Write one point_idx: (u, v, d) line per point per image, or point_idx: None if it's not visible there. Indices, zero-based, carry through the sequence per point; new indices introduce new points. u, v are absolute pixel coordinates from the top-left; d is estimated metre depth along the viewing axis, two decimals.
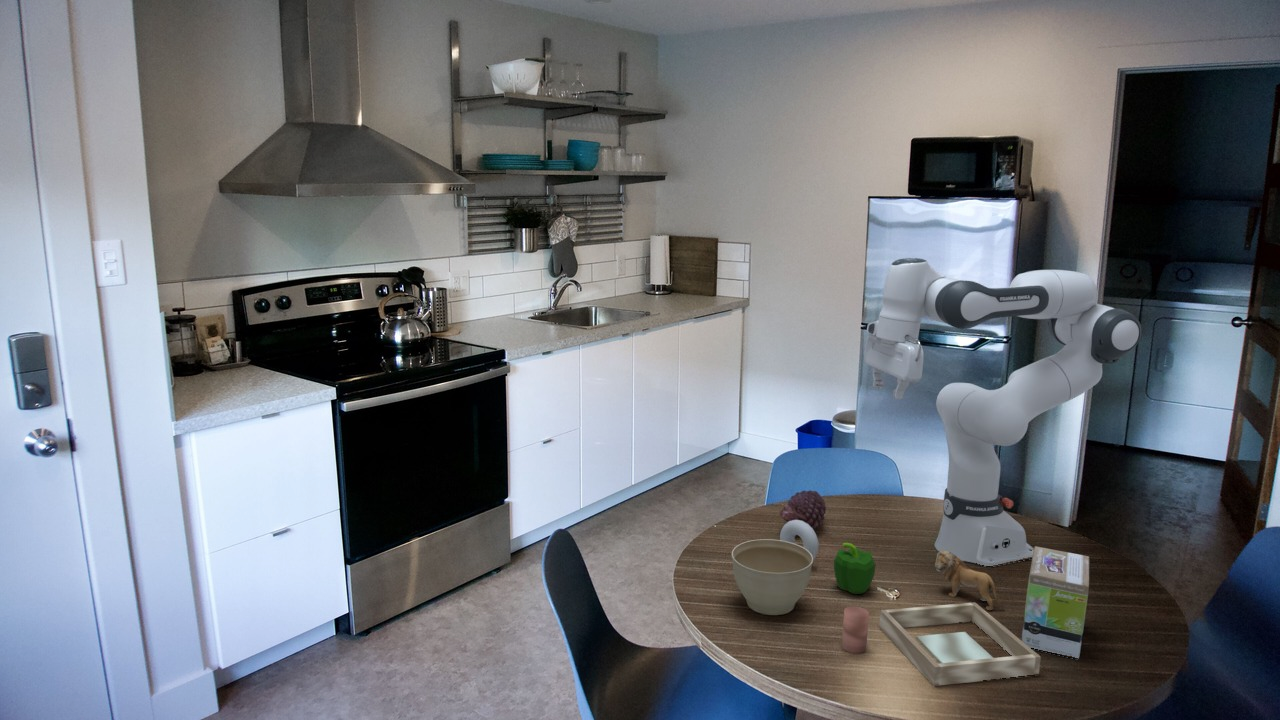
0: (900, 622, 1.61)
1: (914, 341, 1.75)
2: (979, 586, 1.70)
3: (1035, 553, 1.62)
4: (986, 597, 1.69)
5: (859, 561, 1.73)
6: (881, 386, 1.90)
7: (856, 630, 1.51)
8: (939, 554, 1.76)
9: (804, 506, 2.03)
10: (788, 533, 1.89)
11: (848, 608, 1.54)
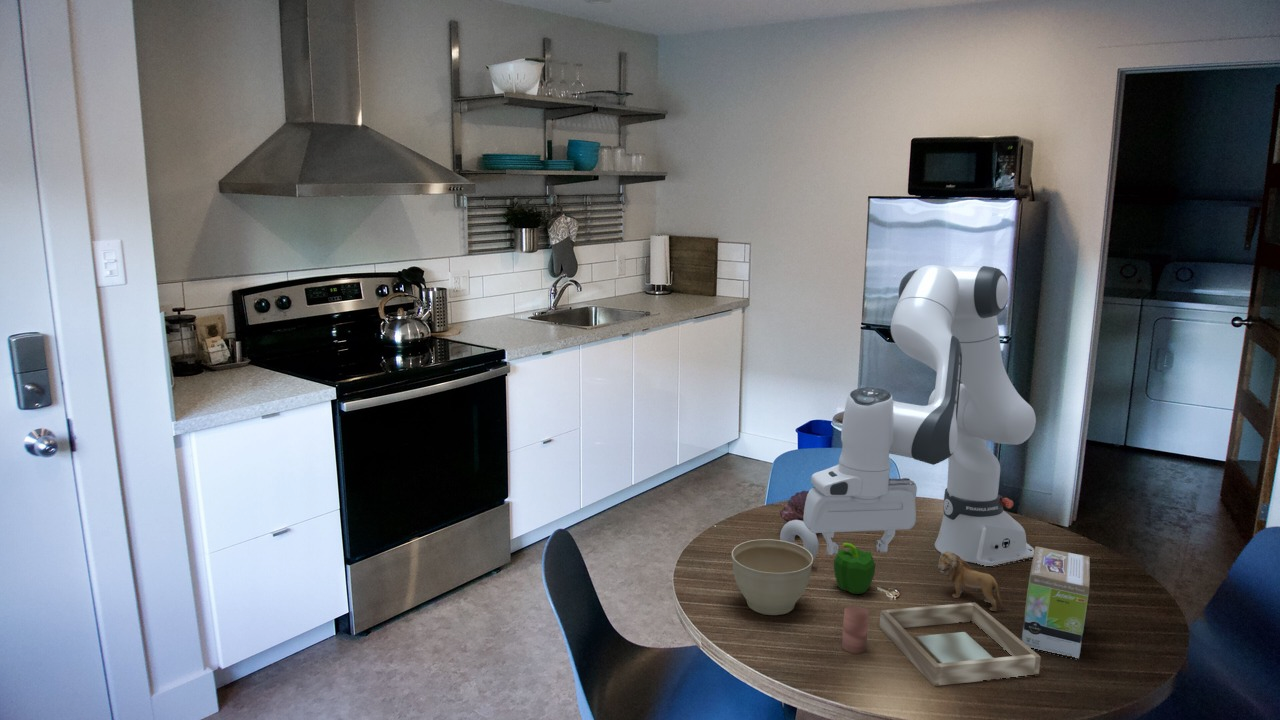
0: (900, 622, 1.61)
1: (908, 482, 1.50)
2: (983, 587, 1.69)
3: (1035, 553, 1.62)
4: (990, 598, 1.68)
5: (859, 561, 1.73)
6: None
7: (856, 630, 1.51)
8: (942, 555, 1.75)
9: (804, 506, 2.03)
10: (788, 533, 1.89)
11: (848, 608, 1.54)
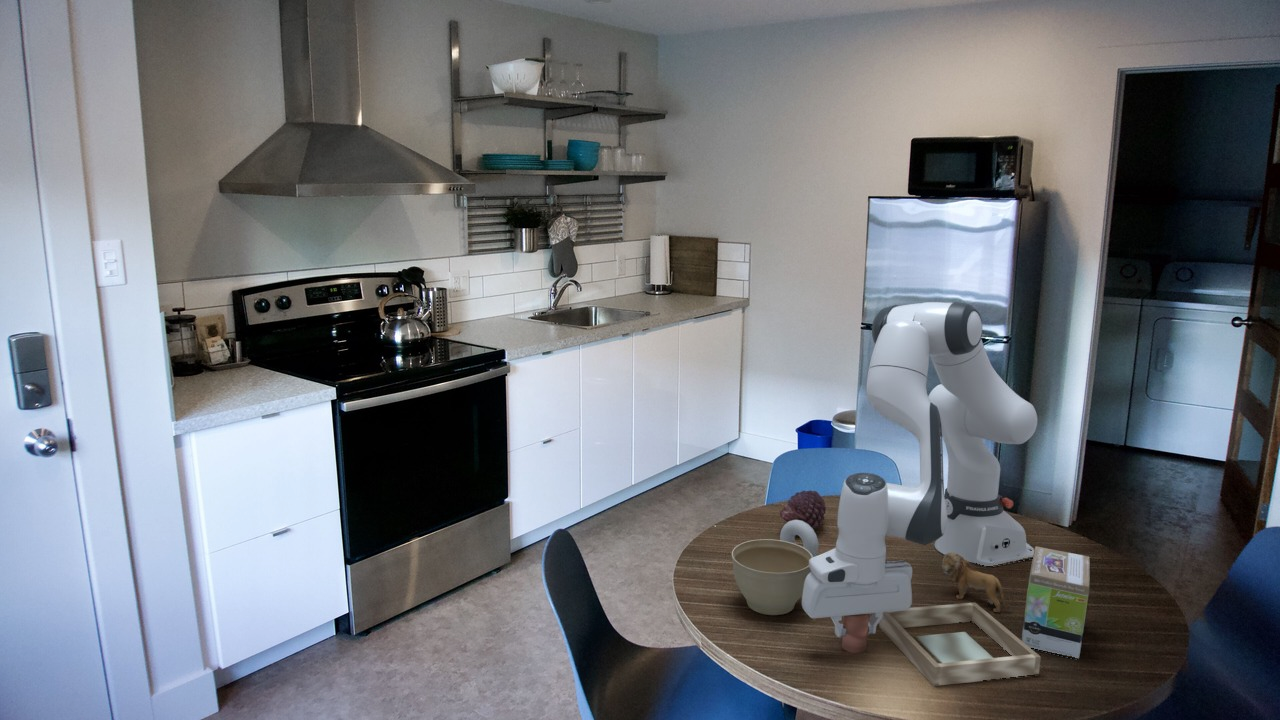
0: (900, 622, 1.61)
1: (904, 565, 1.53)
2: (986, 588, 1.69)
3: (1035, 553, 1.62)
4: (993, 599, 1.68)
5: None
6: None
7: (856, 630, 1.51)
8: (946, 556, 1.75)
9: (804, 506, 2.03)
10: (788, 533, 1.89)
11: None
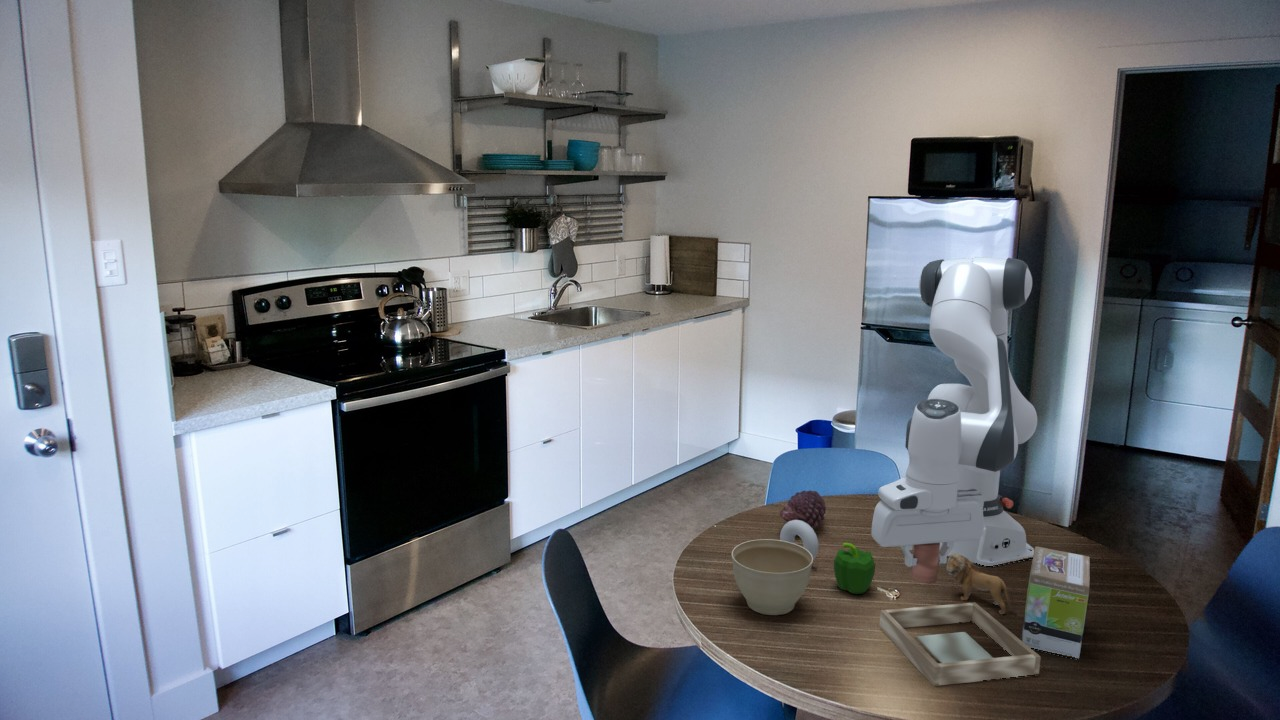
0: (900, 622, 1.61)
1: (975, 493, 1.50)
2: (991, 590, 1.68)
3: (1036, 553, 1.62)
4: (998, 601, 1.67)
5: (859, 561, 1.73)
6: None
7: (928, 559, 1.49)
8: (951, 557, 1.74)
9: (804, 506, 2.03)
10: (788, 533, 1.89)
11: None
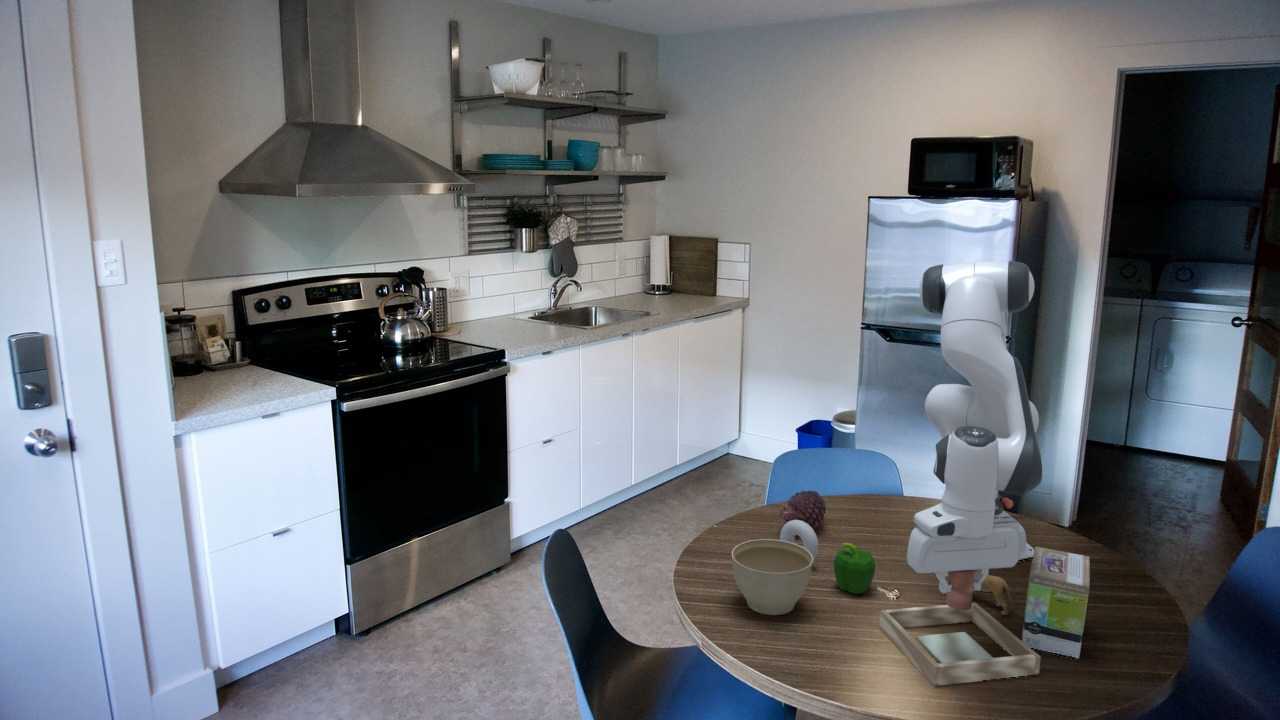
0: (900, 622, 1.61)
1: (1010, 520, 1.50)
2: (994, 590, 1.68)
3: (1035, 553, 1.62)
4: (1001, 602, 1.67)
5: (859, 561, 1.73)
6: None
7: (963, 586, 1.49)
8: None
9: (804, 506, 2.03)
10: (788, 533, 1.89)
11: None
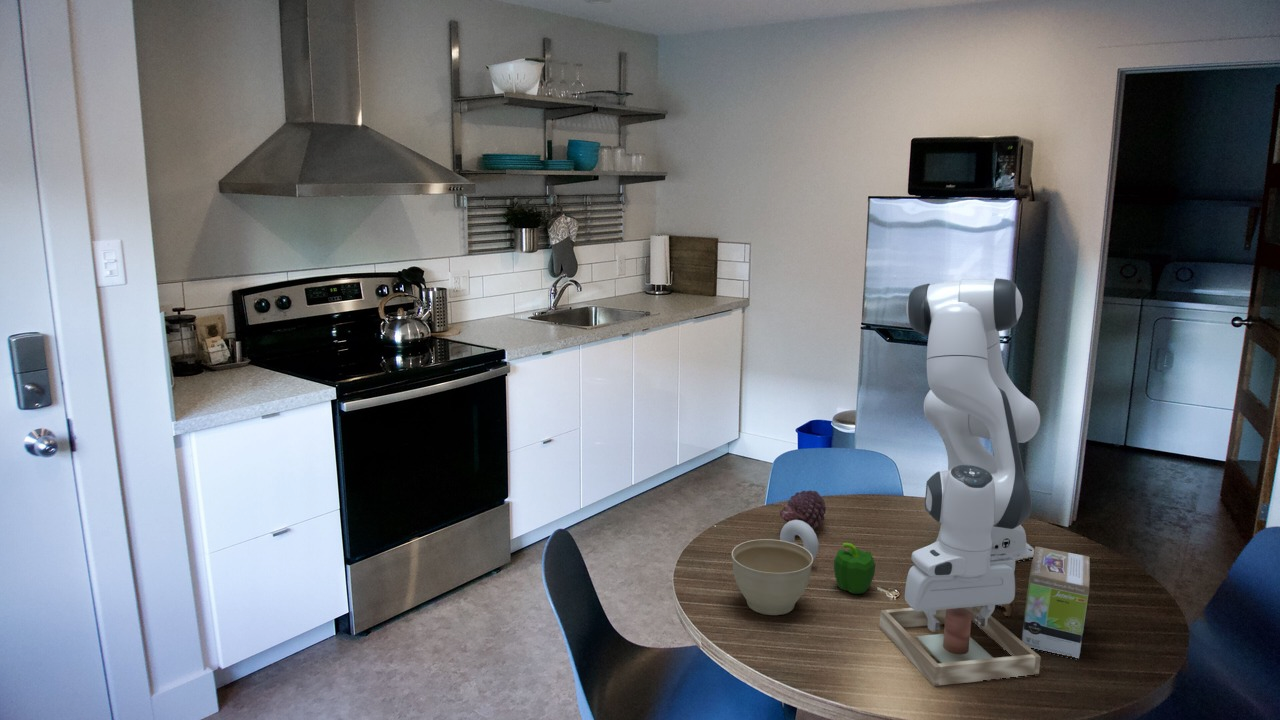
0: (900, 622, 1.61)
1: (1007, 558, 1.52)
2: None
3: (1035, 553, 1.62)
4: None
5: (859, 561, 1.73)
6: None
7: (960, 631, 1.51)
8: None
9: (804, 506, 2.03)
10: (788, 533, 1.89)
11: (950, 609, 1.54)
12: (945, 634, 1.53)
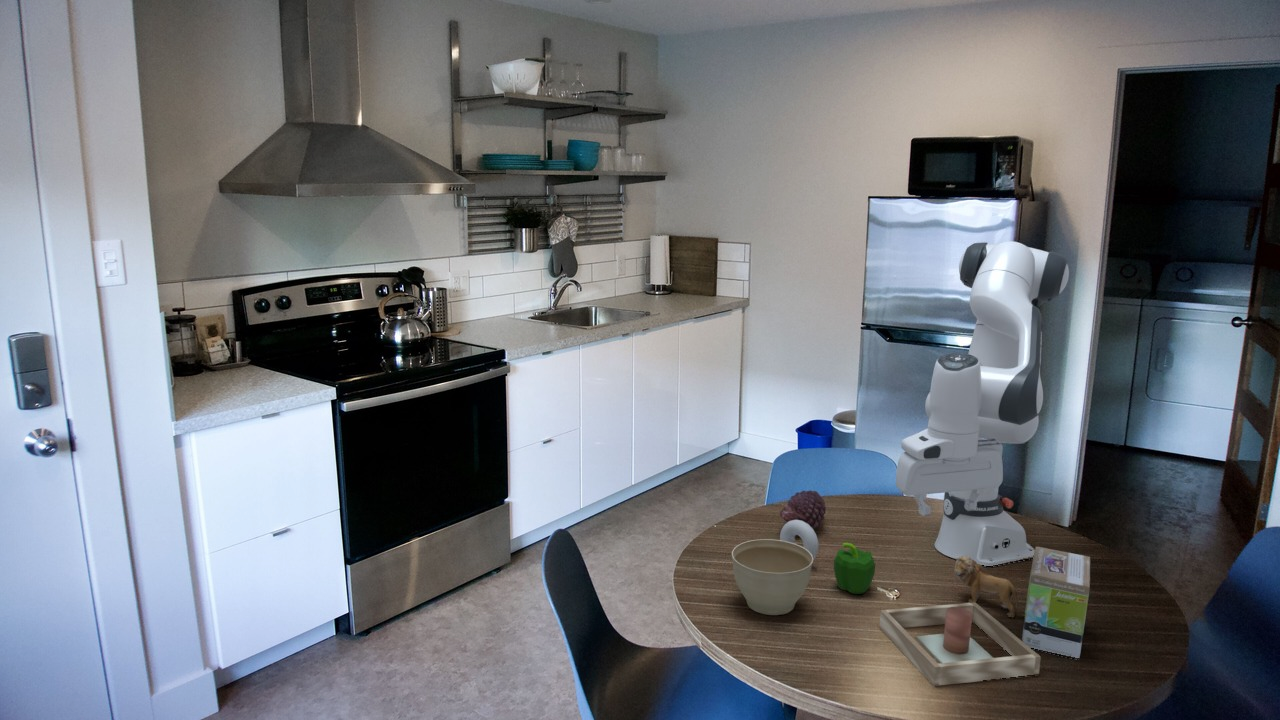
0: (900, 622, 1.61)
1: (994, 442, 1.56)
2: (1000, 592, 1.67)
3: (1036, 553, 1.62)
4: (1007, 604, 1.66)
5: (859, 561, 1.73)
6: None
7: (960, 631, 1.51)
8: (958, 560, 1.73)
9: (804, 506, 2.03)
10: (788, 533, 1.89)
11: (950, 608, 1.54)
12: (945, 634, 1.53)
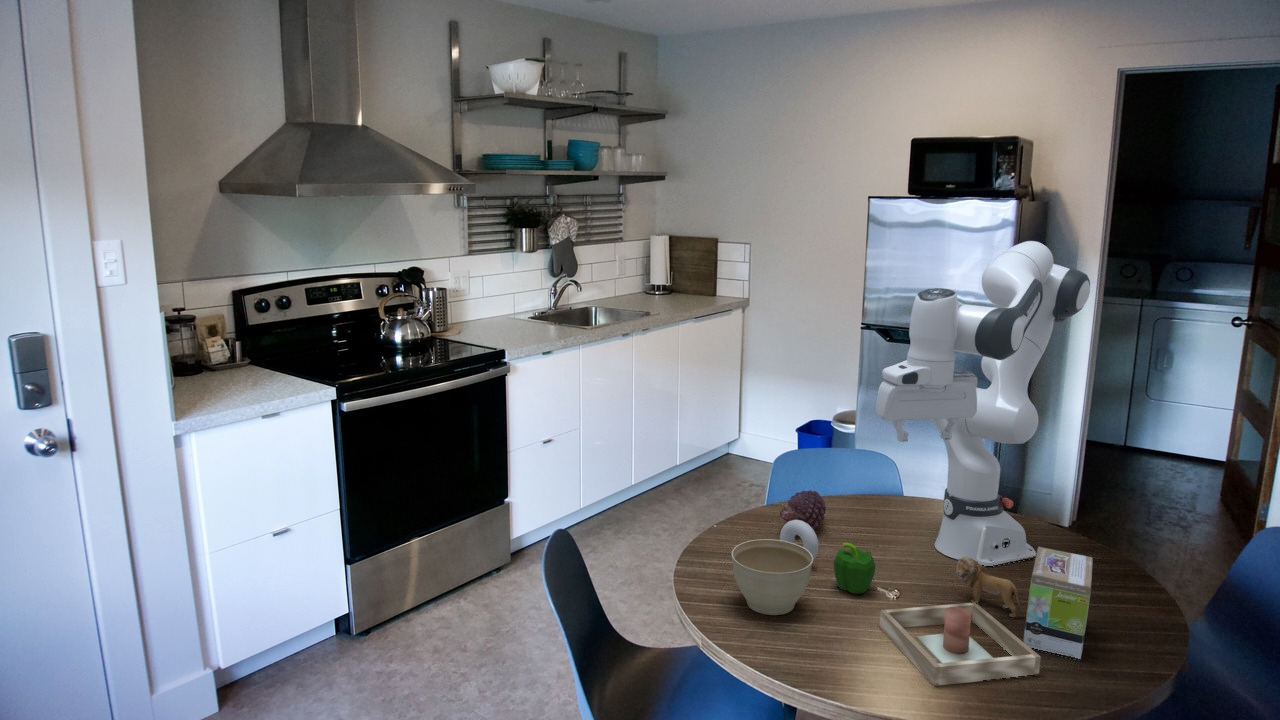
0: (900, 622, 1.61)
1: (970, 374, 1.65)
2: (1002, 593, 1.67)
3: (1038, 553, 1.61)
4: (1009, 604, 1.66)
5: (859, 561, 1.73)
6: None
7: (960, 630, 1.51)
8: (960, 560, 1.73)
9: (804, 506, 2.03)
10: (788, 533, 1.89)
11: (949, 608, 1.54)
12: (945, 634, 1.53)
